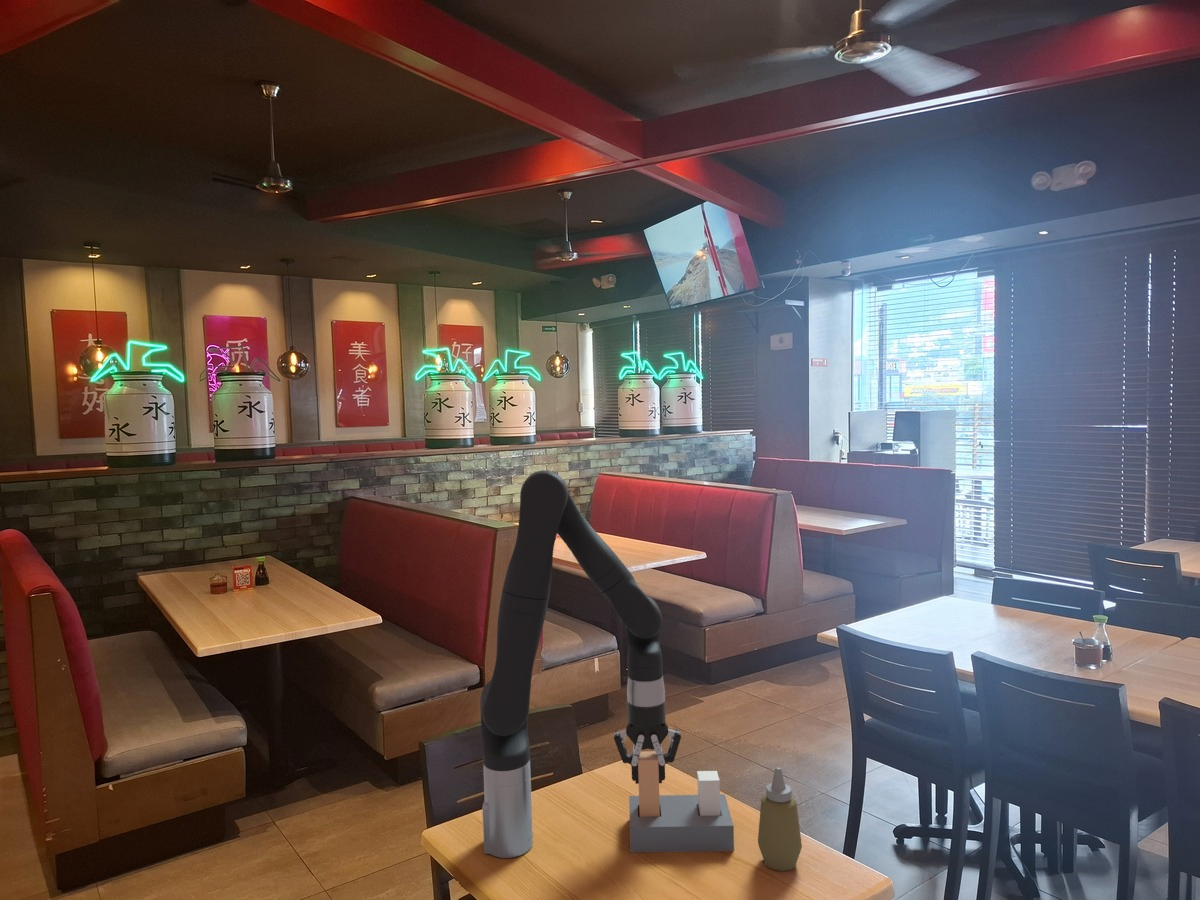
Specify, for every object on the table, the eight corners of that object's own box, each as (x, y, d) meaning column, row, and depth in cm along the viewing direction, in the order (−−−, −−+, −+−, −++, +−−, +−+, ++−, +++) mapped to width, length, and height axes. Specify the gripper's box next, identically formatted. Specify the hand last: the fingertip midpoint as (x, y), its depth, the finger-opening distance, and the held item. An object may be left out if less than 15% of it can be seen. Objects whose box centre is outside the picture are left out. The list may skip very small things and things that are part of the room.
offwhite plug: (700, 837, 151) (699, 780, 150) (698, 826, 155) (697, 771, 154) (720, 836, 151) (719, 780, 150) (718, 825, 155) (717, 770, 154)
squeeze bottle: (777, 880, 137) (775, 783, 136) (749, 858, 144) (747, 765, 143) (811, 867, 141) (810, 772, 140) (782, 845, 148) (780, 755, 147)
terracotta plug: (639, 817, 151) (638, 760, 150) (639, 806, 155) (637, 751, 154) (659, 816, 151) (658, 760, 150) (658, 806, 155) (657, 751, 154)
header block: (630, 852, 147) (629, 827, 147) (629, 819, 159) (629, 796, 159) (734, 850, 146) (733, 825, 146) (725, 817, 158) (724, 794, 158)
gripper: (610, 706, 148) (613, 791, 149) (683, 704, 148) (685, 790, 148) (610, 691, 156) (613, 773, 156) (680, 690, 155) (682, 772, 156)
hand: (648, 781), depth 152 cm, fingers closed on terracotta plug, 4 cm apart
